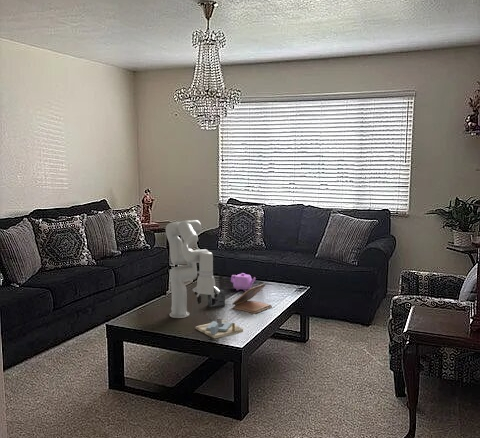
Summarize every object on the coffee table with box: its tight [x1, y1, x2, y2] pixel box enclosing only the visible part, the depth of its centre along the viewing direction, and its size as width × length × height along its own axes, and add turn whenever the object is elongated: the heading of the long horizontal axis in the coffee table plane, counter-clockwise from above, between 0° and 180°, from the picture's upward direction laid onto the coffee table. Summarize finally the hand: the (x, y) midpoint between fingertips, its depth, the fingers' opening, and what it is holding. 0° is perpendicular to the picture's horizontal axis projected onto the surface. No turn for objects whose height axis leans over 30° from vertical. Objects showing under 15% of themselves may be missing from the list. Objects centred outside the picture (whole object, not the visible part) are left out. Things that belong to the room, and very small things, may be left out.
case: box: [232, 283, 273, 314], centre depth 344 cm, size 20×21×16 cm
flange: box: [206, 320, 233, 335], centre depth 297 cm, size 19×12×4 cm, turn 166°
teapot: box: [230, 272, 257, 292], centre depth 390 cm, size 20×12×13 cm, turn 69°
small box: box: [207, 289, 226, 308], centre depth 349 cm, size 11×6×10 cm, turn 109°
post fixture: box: [195, 317, 244, 339], centre depth 300 cm, size 20×20×7 cm
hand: (206, 303), depth 291 cm, fingers open, 7 cm apart
